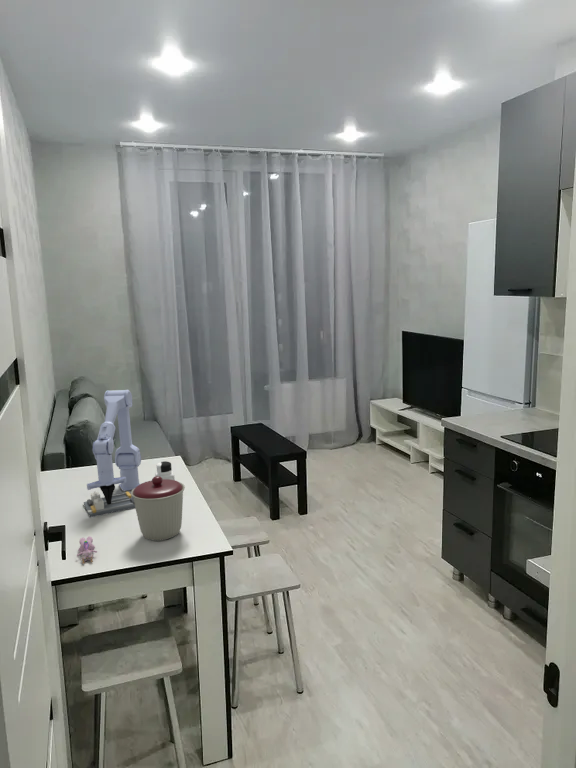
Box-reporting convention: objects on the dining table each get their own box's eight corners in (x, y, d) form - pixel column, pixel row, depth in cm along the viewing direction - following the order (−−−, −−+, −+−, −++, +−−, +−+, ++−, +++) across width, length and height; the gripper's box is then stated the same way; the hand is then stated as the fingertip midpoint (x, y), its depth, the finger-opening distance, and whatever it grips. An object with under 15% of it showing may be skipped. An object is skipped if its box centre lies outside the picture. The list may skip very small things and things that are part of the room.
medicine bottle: (173, 486, 252) (171, 459, 250) (175, 491, 246) (173, 463, 243) (156, 488, 250) (154, 461, 248) (158, 494, 243) (155, 466, 241)
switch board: (83, 504, 235) (83, 499, 234) (133, 494, 244) (133, 489, 243) (90, 517, 221) (89, 512, 221) (143, 506, 231) (142, 500, 230)
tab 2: (94, 507, 227) (93, 498, 227) (102, 505, 229) (101, 496, 228) (96, 510, 224) (95, 501, 223) (104, 509, 225) (103, 499, 224)
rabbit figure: (98, 565, 186) (96, 540, 199) (96, 549, 184) (94, 524, 197) (77, 569, 184) (76, 543, 197) (75, 553, 182) (74, 528, 195)
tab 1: (91, 501, 234) (90, 492, 234) (99, 499, 236) (98, 490, 235) (93, 504, 231) (92, 495, 230) (100, 502, 232) (100, 493, 232)
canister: (145, 523, 214) (140, 468, 210) (194, 523, 212) (189, 467, 208) (126, 545, 196) (121, 485, 192) (179, 546, 194) (174, 485, 190)
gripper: (87, 476, 218) (91, 510, 221) (126, 469, 225) (129, 502, 227) (84, 471, 225) (88, 504, 227) (122, 464, 231) (125, 497, 234)
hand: (108, 503), depth 228 cm, fingers closed
